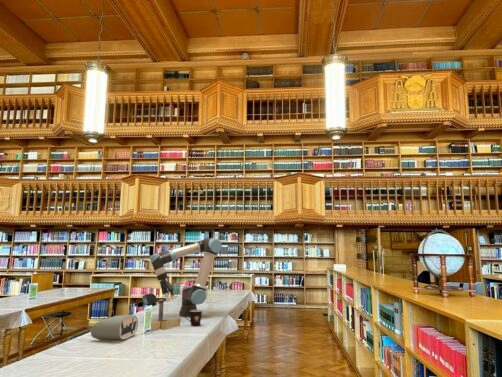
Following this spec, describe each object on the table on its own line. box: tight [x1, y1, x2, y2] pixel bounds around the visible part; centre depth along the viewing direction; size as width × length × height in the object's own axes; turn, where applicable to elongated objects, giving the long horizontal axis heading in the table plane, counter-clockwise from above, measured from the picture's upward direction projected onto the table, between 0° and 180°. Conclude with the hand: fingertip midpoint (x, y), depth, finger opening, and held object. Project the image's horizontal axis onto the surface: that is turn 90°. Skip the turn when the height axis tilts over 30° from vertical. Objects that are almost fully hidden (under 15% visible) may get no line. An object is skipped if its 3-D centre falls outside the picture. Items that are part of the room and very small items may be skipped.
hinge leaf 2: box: [160, 317, 181, 330], centre depth 262 cm, size 16×6×5 cm, turn 137°
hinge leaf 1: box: [150, 320, 169, 331], centre depth 254 cm, size 16×6×5 cm, turn 137°
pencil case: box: [90, 314, 139, 341], centre depth 230 cm, size 22×19×13 cm
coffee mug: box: [184, 309, 203, 327], centre depth 270 cm, size 12×9×10 cm
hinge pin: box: [158, 298, 165, 321], centre depth 272 cm, size 4×4×17 cm
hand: (171, 300), depth 280 cm, fingers open, 13 cm apart
